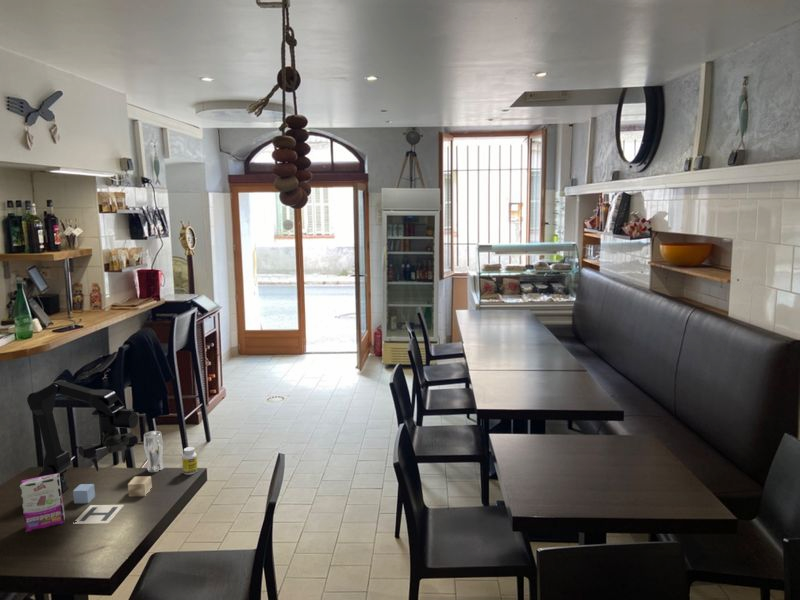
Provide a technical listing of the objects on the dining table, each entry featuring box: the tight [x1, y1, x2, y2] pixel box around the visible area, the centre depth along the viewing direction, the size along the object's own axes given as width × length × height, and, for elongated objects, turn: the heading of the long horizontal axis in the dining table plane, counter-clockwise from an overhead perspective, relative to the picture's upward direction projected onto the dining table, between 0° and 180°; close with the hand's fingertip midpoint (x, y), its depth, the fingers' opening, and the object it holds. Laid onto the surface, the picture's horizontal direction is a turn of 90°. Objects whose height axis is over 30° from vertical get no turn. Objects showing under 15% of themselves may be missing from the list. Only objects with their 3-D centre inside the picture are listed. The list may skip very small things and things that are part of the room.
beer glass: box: [143, 430, 164, 473], centre depth 234 cm, size 7×7×15 cm
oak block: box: [127, 475, 153, 497], centre depth 216 cm, size 6×6×5 cm
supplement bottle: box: [182, 446, 198, 476], centre depth 232 cm, size 5×5×10 cm
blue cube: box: [72, 483, 96, 504], centre depth 211 cm, size 5×5×5 cm
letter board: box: [72, 504, 125, 525], centre depth 202 cm, size 12×12×1 cm
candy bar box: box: [19, 473, 66, 533], centre depth 194 cm, size 11×5×16 cm, turn 117°
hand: (110, 466), depth 212 cm, fingers open, 9 cm apart
